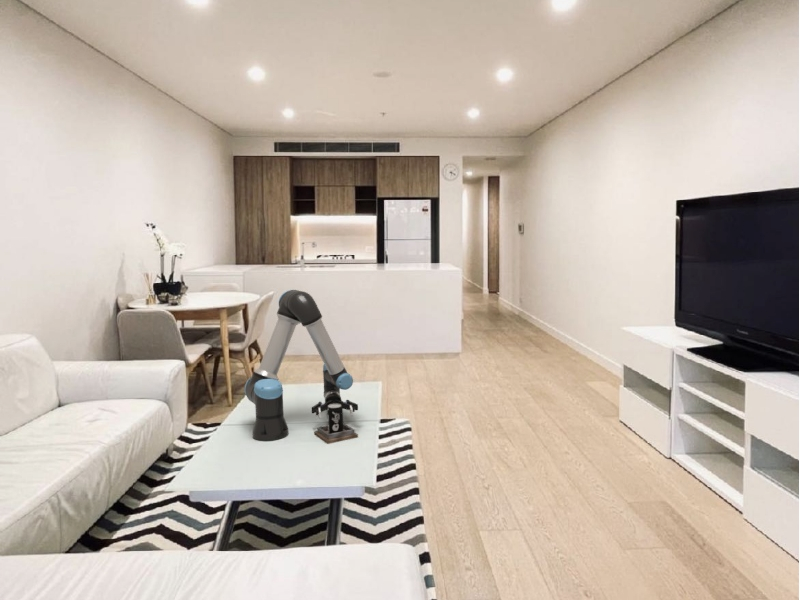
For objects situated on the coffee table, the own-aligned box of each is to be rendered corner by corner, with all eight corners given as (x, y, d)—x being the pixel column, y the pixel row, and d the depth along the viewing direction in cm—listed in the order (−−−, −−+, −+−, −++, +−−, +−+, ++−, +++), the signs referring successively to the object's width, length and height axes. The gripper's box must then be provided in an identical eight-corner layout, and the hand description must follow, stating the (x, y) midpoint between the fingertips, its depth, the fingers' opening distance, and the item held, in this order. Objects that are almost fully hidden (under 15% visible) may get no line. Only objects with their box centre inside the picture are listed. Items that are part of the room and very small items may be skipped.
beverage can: (346, 432, 243) (345, 405, 242) (335, 436, 238) (333, 408, 237) (336, 429, 247) (335, 402, 246) (324, 433, 243) (323, 406, 241)
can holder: (327, 443, 233) (326, 436, 233) (314, 434, 245) (313, 427, 245) (357, 437, 240) (357, 429, 240) (343, 428, 252) (343, 421, 252)
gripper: (360, 406, 266) (365, 420, 245) (306, 410, 262) (306, 424, 241) (359, 390, 265) (364, 403, 244) (305, 394, 261) (306, 407, 240)
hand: (336, 413), depth 243 cm, fingers open, 13 cm apart
